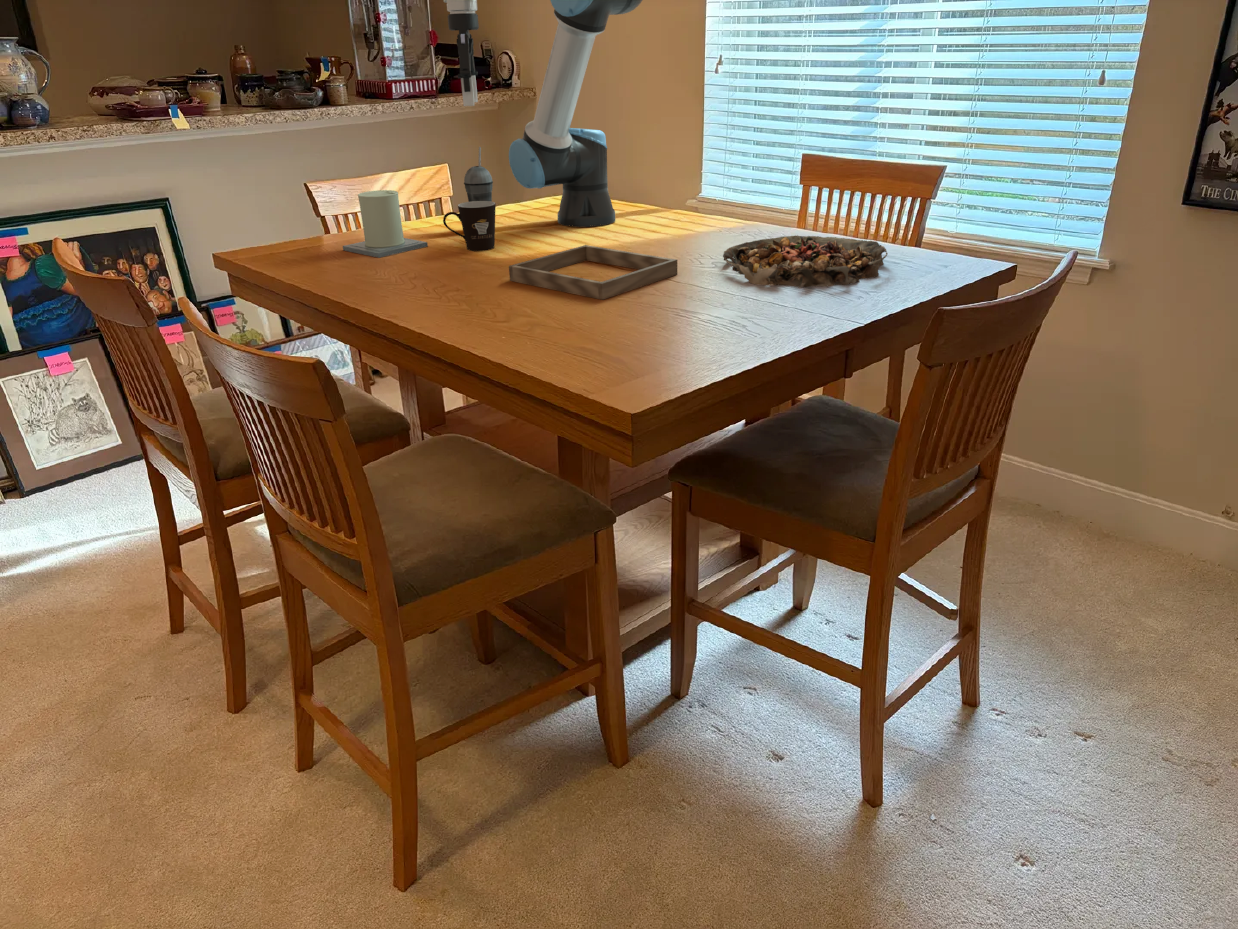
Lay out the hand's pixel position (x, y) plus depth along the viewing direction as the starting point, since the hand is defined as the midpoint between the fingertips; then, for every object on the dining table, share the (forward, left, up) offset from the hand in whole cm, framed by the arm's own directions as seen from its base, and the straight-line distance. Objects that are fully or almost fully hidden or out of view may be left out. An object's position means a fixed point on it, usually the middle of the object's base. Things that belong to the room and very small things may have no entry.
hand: (470, 104), depth 234 cm
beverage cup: (-14, +12, -29) cm, 34 cm away
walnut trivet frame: (-71, +33, -29) cm, 83 cm away
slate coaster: (-11, +40, -29) cm, 50 cm away
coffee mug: (-29, +28, -29) cm, 50 cm away
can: (-11, +40, -28) cm, 50 cm away
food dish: (-102, +2, -29) cm, 106 cm away
